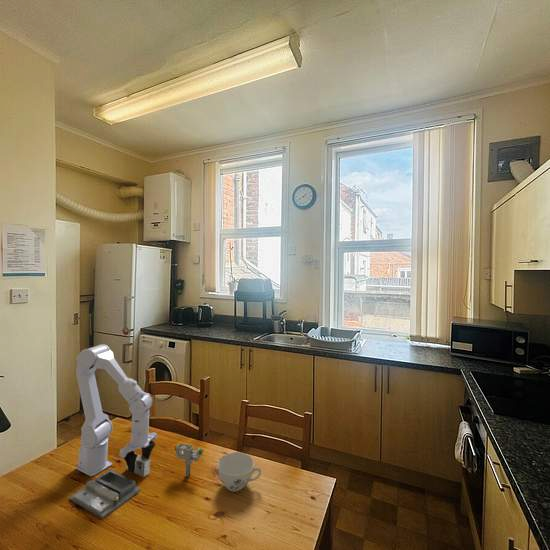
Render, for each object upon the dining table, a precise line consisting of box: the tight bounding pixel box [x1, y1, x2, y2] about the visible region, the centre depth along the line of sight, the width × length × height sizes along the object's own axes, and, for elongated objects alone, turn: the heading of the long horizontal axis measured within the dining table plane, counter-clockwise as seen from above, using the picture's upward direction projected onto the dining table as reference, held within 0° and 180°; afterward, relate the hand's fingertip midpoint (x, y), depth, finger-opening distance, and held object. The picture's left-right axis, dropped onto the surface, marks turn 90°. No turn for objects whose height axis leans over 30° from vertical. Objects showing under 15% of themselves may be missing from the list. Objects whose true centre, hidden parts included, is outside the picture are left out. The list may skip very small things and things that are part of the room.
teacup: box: [216, 451, 262, 493], centre depth 101 cm, size 15×12×8 cm
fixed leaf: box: [68, 469, 141, 520], centre depth 94 cm, size 16×13×3 cm
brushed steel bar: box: [126, 453, 151, 478], centre depth 106 cm, size 9×2×5 cm, turn 64°
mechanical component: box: [174, 443, 204, 478], centre depth 105 cm, size 3×10×10 cm, turn 78°
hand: (138, 467), depth 106 cm, fingers open, 5 cm apart
